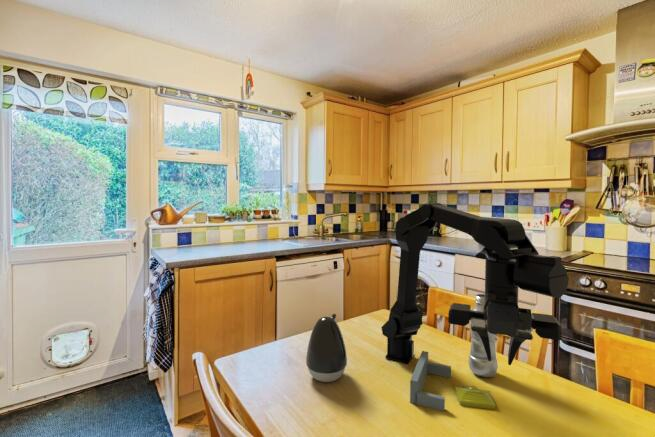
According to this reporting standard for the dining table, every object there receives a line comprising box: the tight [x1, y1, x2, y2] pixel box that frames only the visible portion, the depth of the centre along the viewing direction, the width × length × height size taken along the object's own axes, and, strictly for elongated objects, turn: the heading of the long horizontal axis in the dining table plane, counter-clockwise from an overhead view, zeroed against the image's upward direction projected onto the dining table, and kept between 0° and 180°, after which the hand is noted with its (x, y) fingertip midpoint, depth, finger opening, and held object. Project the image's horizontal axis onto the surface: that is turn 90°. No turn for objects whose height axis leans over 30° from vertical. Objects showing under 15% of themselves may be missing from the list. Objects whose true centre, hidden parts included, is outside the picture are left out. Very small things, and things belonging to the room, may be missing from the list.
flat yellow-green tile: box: [454, 384, 497, 410], centre depth 71 cm, size 10×9×3 cm
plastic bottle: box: [467, 293, 499, 378], centre depth 81 cm, size 6×7×20 cm
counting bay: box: [409, 350, 452, 412], centre depth 75 cm, size 7×15×5 cm, turn 154°
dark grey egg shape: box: [305, 313, 348, 383], centre depth 80 cm, size 10×10×15 cm
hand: (499, 362), depth 63 cm, fingers open, 3 cm apart
